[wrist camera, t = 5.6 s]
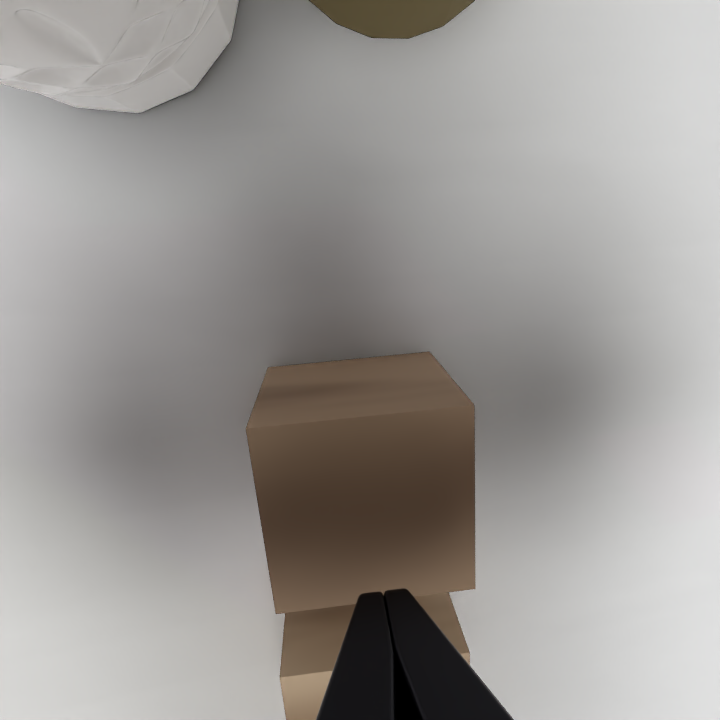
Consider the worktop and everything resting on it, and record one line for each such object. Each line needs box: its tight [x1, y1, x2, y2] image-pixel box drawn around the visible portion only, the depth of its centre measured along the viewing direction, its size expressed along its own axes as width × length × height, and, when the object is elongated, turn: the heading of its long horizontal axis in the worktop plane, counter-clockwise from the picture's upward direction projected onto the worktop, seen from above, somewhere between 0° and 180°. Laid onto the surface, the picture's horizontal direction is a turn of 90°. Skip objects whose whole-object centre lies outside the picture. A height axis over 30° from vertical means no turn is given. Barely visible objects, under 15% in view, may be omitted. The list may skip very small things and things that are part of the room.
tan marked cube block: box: [280, 592, 470, 720], centre depth 15 cm, size 5×5×5 cm
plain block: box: [246, 352, 475, 614], centre depth 13 cm, size 5×5×4 cm
